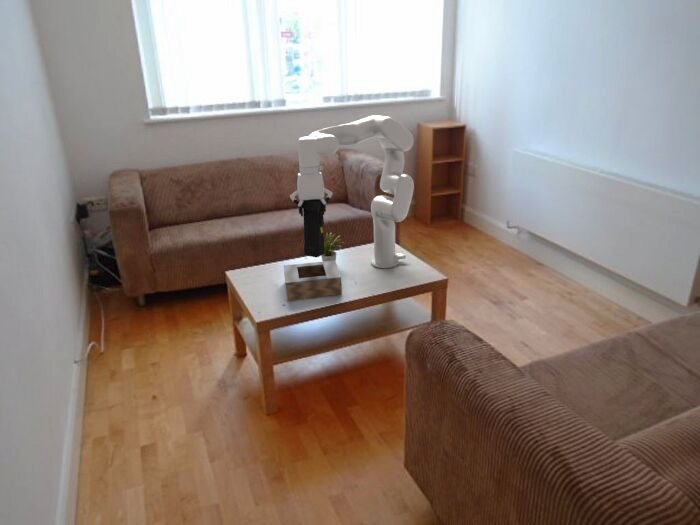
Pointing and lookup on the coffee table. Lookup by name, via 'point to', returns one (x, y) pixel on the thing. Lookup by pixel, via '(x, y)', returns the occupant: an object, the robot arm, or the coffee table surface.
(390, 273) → the coffee table surface
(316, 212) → the portable radio
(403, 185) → the robot arm
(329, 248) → the house plant
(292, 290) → the box
